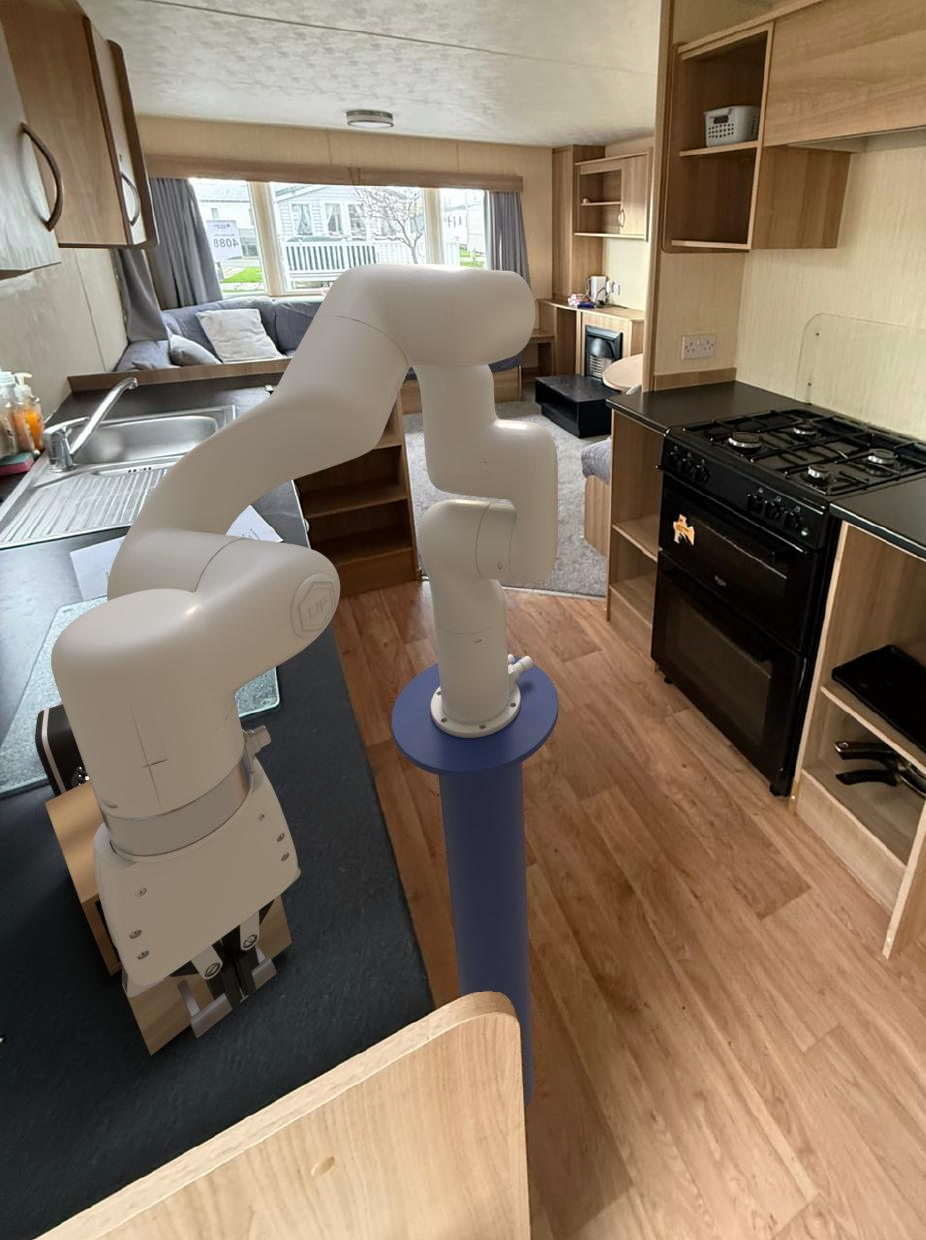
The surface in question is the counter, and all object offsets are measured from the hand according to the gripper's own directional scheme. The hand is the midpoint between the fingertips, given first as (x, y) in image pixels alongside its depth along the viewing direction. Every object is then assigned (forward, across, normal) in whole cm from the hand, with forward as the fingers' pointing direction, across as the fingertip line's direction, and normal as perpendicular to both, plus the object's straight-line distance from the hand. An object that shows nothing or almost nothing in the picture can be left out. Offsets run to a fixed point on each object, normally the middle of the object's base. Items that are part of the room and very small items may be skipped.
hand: (236, 984), depth 44 cm
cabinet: (+13, 0, -26) cm, 29 cm away
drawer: (+12, 0, -13) cm, 18 cm away
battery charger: (+13, +3, -44) cm, 46 cm away
